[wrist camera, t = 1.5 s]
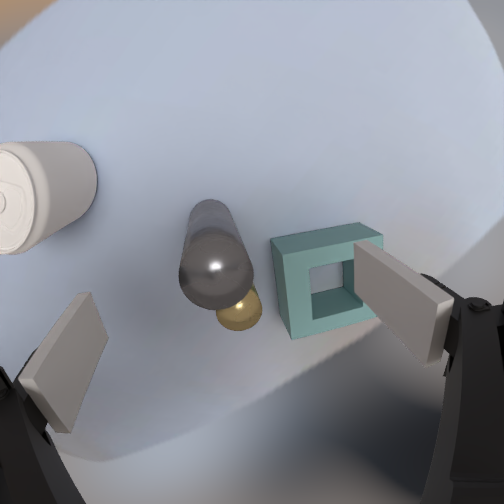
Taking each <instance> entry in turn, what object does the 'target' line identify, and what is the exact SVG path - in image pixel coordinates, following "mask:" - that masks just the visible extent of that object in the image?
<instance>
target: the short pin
mask: <svg viewBox="0 0 504 504" xmlns="http://www.w3.org/2000/svg"><path fill="white" fill-rule="evenodd" d="M216 315H217V319H218V321H219V322H220V323H221V325H223V326H224V327H225V328H227V329H230V330H234V331H242V330H246V329H249V328H251V327H252V326H254V325H255V324H256V323H257V322H258V321H259V319H260V317H261V315H262V305H261V302H260V299H259V297H258V294H257V291H256V289H255V286H254V283H252V286H251V289H250V291H249V292H248V294H247V295H246V296H245V297H244V299H243V300H241V301H240V302H239V303H237V304H236V305H234V306H232V307H229V308H226V309H221V310H216Z"/></svg>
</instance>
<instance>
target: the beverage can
mask: <svg viewBox="0 0 504 504" xmlns="http://www.w3.org/2000/svg"><path fill="white" fill-rule="evenodd" d="M96 188H97V175H96V169H95V166H94V163H93V161H92V159H91V157H90V156H89V154H88V153H87V152H86V151H85V150H84V149H83V148H82V147H80V146H78V145H77V144H74V143H71V142H50V141H31V142H6V143H2V144H0V254H9V255H15V254H20V253H23V252H26V251H28V250H29V249H31V248H32V247H34V246H35V245H37V244H38V243H40V242H41V241H43V240H44V239H46V238H47V237H49V236H51V235H52V234H54V233H55V232H57V231H58V230H60V229H62V228H63V227H65V226H66V225H68V224H70V223H71V222H73V221H75V220H76V219H78V218H79V217H81V216H82V215H83V214H84V213H85V212H86V211H87V210H88V209H89V207H90V205H91V204H92V202H93V199H94V197H95V193H96Z"/></svg>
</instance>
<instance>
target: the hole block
mask: <svg viewBox="0 0 504 504" xmlns="http://www.w3.org/2000/svg"><path fill="white" fill-rule="evenodd" d="M270 240H271V247H272V255H273V263H274V270H275V278H276V286H277V294H278V302H279V310H280V316H281V318H282V320H283V322H284V324H285V327H286V329H287V331H288V333H289V335H290V337H291V339H292V340H293V339H298V338H302V337H306V336H310V335H314V334H318V333H321V332H325V331H329V330H333V329H336V328H340V327H344V326H347V325H351V324H354V323H358V322H361V321H364V320H368V319H371V318H374V317H378V316H377V315H376V314H375V313H374V312H373V311H372V310H371V309H370V308H369V307H368V306H367V305H366V304H365V303H364V302H363V301H362V300H361V298H360V297H359V296H358V295H357V294H356V293H355V292H354V245H353V242H358V241H363V240H368V241H370V242H371V243H373V244H374V245H376V246H378V247H379V248H381V249H382V250H383V234H381V233H379V232H377V231H375V230H373V229H371V228H369V227H367V226H365V225H363V224H361V223H360V222H359V223H353V224H348V225H342V226H337V227H331V228H326V229H320V230H315V231H309V232H304V233H299V234H293V235H288V236H282V237H277V238H272V239H270ZM341 261H343V285H344V287H340V288H336V289H332V290H328V291H323V292H319V293H315V294H311V289H310V276H309V268H314V267H318V266H323V265H327V264H332V263H337V262H341Z"/></svg>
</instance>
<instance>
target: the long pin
mask: <svg viewBox="0 0 504 504" xmlns="http://www.w3.org/2000/svg"><path fill="white" fill-rule="evenodd" d="M253 276H254V273H253V267H252V264H251V261H250V259H249V256H248V254H247V252H246V249H245V247H244V245H243V242H242V240H241V237H240V235H239V233H238V230H237V228H236V226H235V223H234V221H233V218H232V216H231V214H230V211H229V209H228V208H227V207H226V205H225V204H223V203H222V202H220V201H218V200H214V199H208V200H204V201H201V202H199V203H198V204H197V205H196V206H195V207H194V208H193V210H192V212H191V215H190V219H189V223H188V228H187V233H186V238H185V243H184V248H183V253H182V258H181V263H180V268H179V283H180V286H181V289H182V291H183V293H184V294H185V296H186V297H187V298H188V299H189V300H190V301H191V302H192V303H194V304H196V305H197V306H199V307H202V308H205V309H209V310H221V309H226V308H229V307H232V306H234V305H236V304H237V303H239V302H240V301H241V300H243V299H244V297H245V296H246V295H247V294H248V292H249V291H250V289H251V286H252V283H253Z"/></svg>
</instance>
